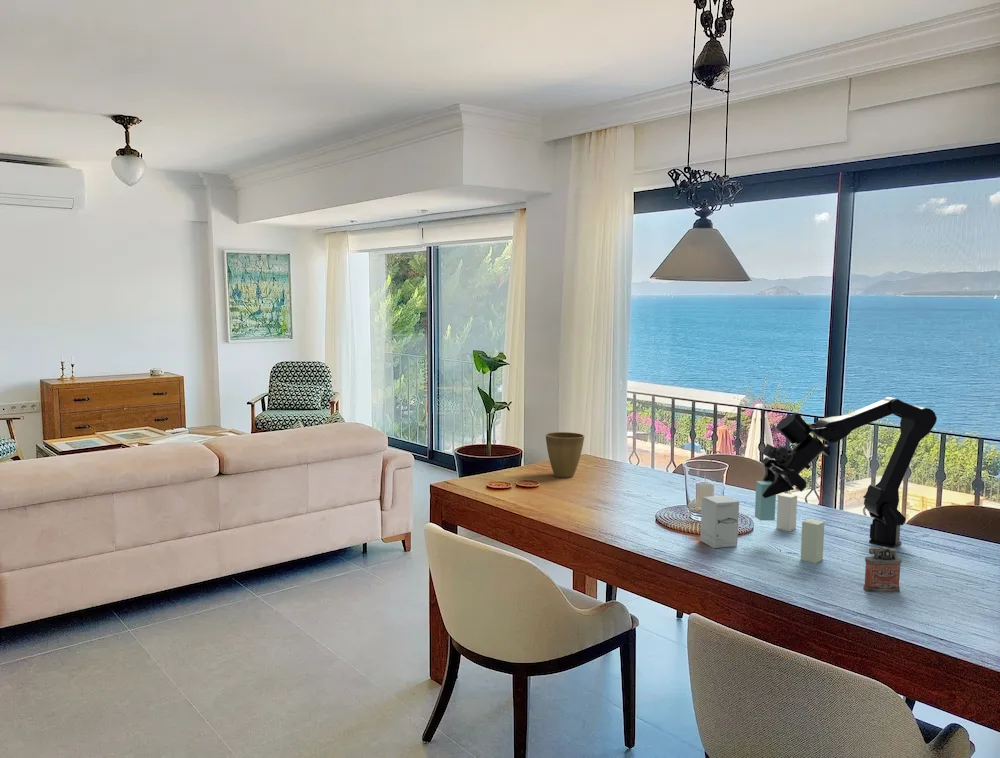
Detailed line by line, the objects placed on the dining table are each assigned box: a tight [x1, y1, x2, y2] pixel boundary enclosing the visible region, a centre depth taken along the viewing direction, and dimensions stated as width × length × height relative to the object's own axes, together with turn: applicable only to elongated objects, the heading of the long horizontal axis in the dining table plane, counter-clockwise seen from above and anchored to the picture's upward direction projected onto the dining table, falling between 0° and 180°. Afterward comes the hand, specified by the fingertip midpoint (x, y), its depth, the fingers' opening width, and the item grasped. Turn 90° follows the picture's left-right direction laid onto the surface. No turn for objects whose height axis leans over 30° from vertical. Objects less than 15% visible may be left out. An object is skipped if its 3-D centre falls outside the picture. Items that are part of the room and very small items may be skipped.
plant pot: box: [545, 431, 585, 479], centre depth 284 cm, size 15×15×16 cm
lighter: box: [863, 546, 902, 594], centre depth 169 cm, size 8×3×10 cm, turn 92°
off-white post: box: [776, 492, 798, 532], centre depth 217 cm, size 4×4×10 cm
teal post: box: [754, 480, 777, 521], centre depth 203 cm, size 4×4×10 cm
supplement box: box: [699, 495, 740, 549], centre depth 202 cm, size 7×7×13 cm
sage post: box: [800, 518, 825, 564], centre depth 190 cm, size 4×4×10 cm
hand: (760, 494), depth 202 cm, fingers closed on teal post, 4 cm apart
